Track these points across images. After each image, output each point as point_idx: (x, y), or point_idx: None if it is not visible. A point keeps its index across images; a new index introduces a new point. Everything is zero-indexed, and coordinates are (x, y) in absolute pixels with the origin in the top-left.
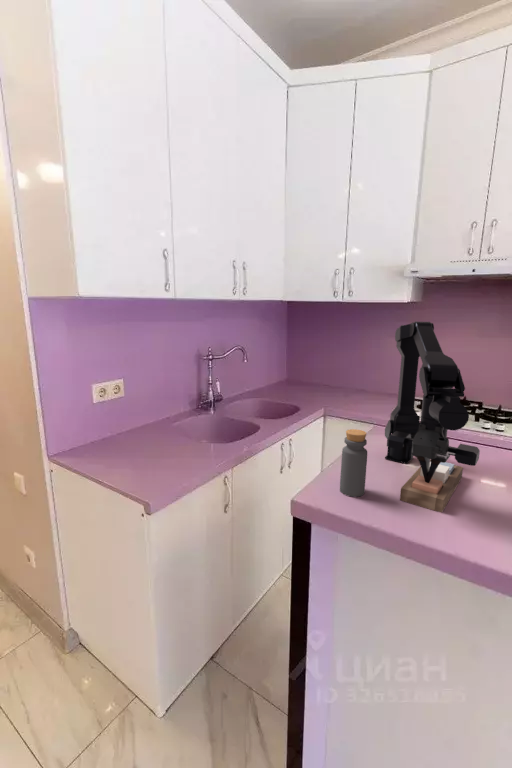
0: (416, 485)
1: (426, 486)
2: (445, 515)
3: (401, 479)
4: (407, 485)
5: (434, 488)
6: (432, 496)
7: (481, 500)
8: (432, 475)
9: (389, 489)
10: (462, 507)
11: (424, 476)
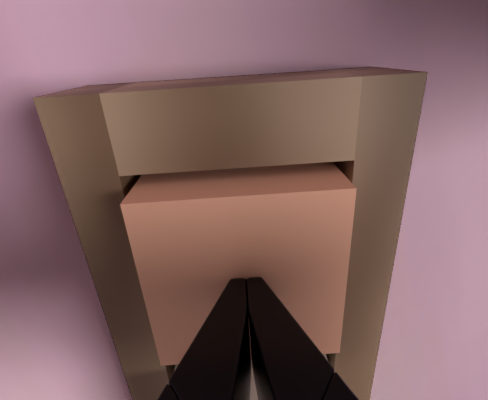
0: (311, 184)
1: (221, 196)
2: (55, 65)
3: (411, 336)
4: (381, 174)
5: (148, 205)
6: (135, 102)
7: (33, 367)
8: (196, 340)
9: (460, 181)
10: (49, 246)
11: (277, 307)
